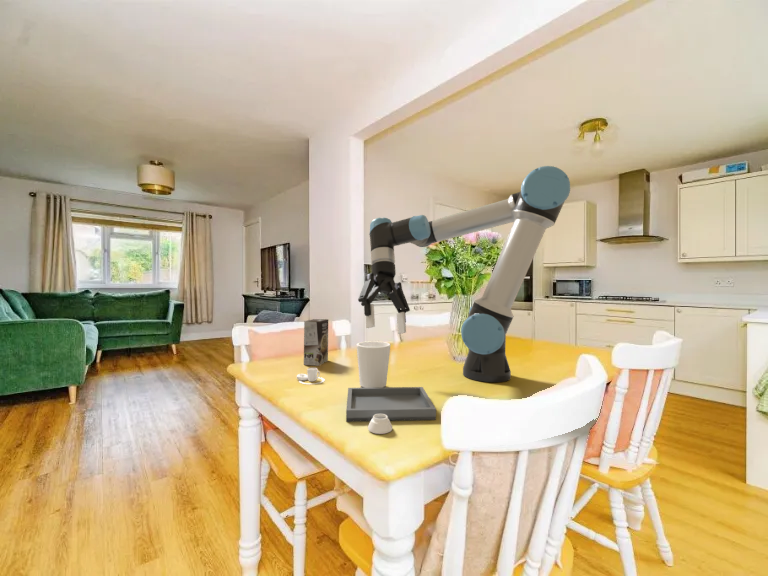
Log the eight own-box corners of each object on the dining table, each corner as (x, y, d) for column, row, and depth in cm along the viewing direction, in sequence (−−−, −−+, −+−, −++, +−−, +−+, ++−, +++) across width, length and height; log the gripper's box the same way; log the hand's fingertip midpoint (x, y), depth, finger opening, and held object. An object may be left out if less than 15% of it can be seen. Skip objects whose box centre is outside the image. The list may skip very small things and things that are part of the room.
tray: (422, 396, 93) (422, 386, 93) (435, 419, 77) (436, 408, 77) (348, 397, 92) (348, 387, 92) (346, 421, 76) (346, 410, 76)
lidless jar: (396, 431, 71) (382, 423, 75) (397, 417, 71) (382, 410, 75) (377, 437, 68) (363, 429, 72) (377, 423, 68) (363, 415, 72)
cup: (397, 388, 99) (397, 344, 99) (369, 395, 93) (370, 348, 93) (376, 380, 107) (376, 339, 107) (349, 386, 101) (349, 343, 101)
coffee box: (319, 366, 124) (320, 321, 124) (303, 365, 126) (303, 321, 125) (328, 360, 133) (329, 318, 133) (313, 359, 135) (313, 318, 134)
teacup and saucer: (292, 380, 107) (292, 367, 107) (315, 376, 113) (315, 364, 113) (306, 387, 101) (307, 373, 101) (329, 382, 106) (330, 369, 106)
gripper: (400, 277, 120) (404, 337, 113) (345, 257, 103) (346, 327, 95) (416, 270, 115) (422, 333, 108) (362, 249, 98) (365, 321, 91)
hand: (387, 330), depth 102 cm, fingers open, 13 cm apart
